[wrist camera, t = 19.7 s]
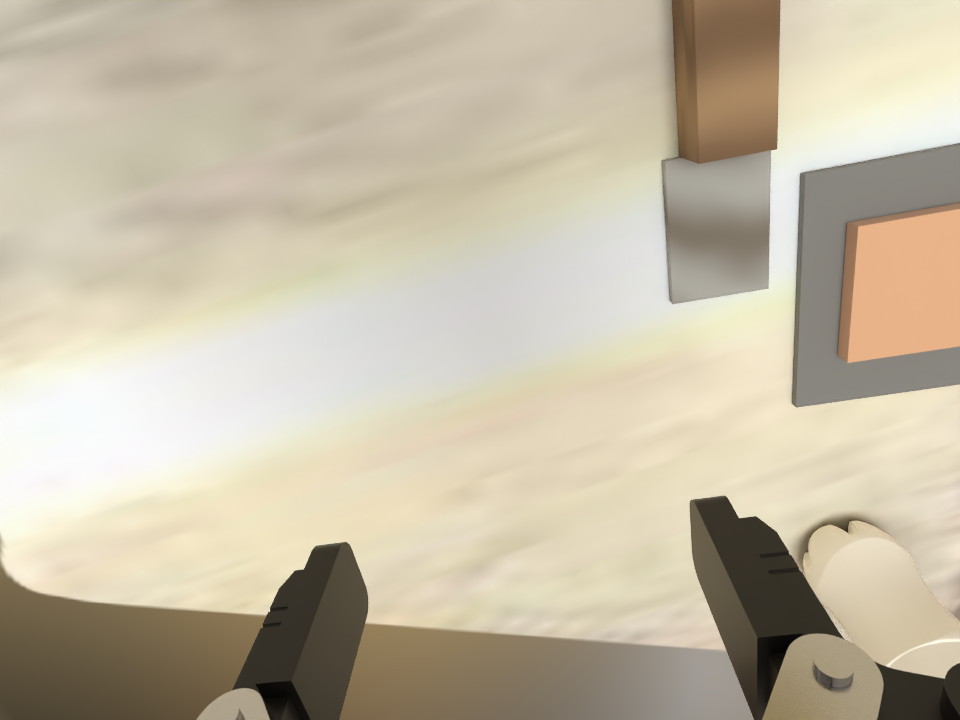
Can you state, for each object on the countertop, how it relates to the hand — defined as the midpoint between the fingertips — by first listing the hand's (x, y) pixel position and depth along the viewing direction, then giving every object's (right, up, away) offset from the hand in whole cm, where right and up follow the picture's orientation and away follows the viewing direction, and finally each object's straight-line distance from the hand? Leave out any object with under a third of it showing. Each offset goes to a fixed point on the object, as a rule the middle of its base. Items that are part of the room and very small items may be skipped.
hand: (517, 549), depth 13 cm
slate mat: (+26, +9, +23) cm, 36 cm away
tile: (+25, +13, +20) cm, 35 cm away
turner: (+13, +18, +20) cm, 30 cm away
